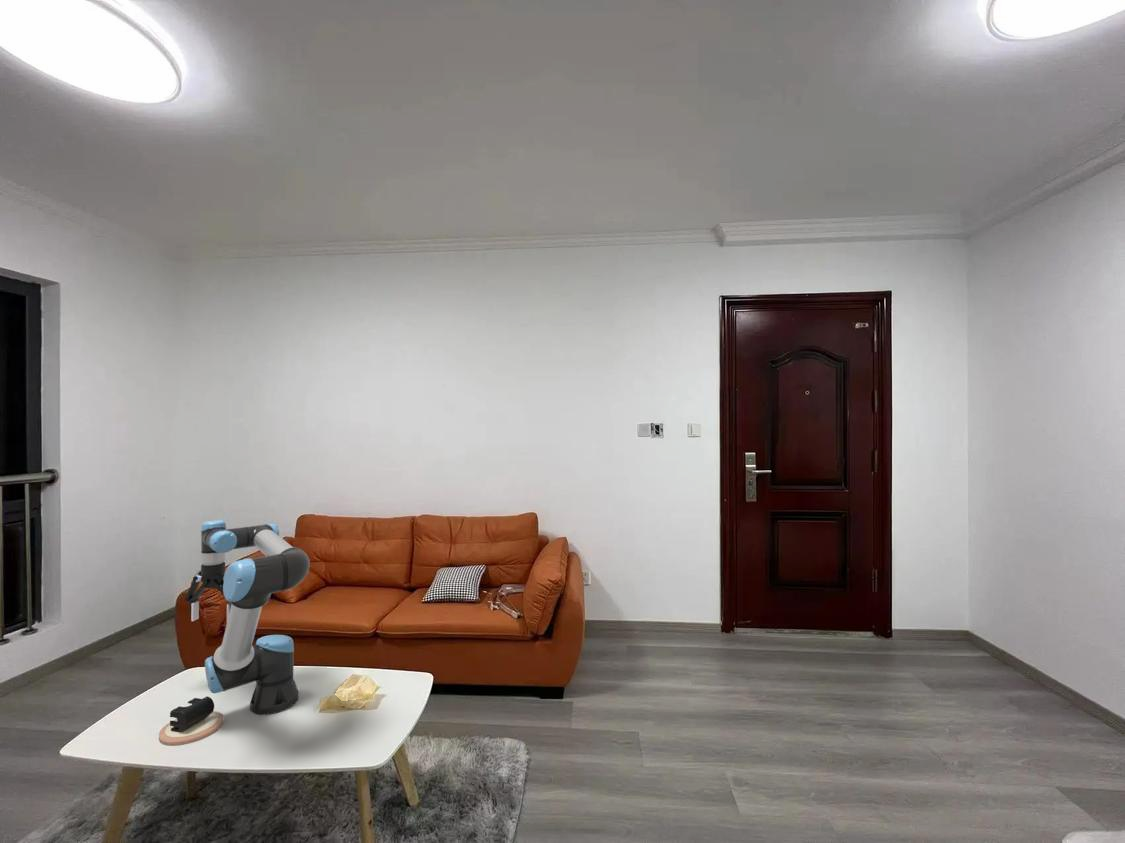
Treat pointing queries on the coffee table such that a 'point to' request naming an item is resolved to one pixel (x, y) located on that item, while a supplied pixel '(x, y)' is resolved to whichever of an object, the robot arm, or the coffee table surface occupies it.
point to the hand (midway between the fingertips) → (212, 620)
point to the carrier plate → (191, 730)
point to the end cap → (191, 713)
